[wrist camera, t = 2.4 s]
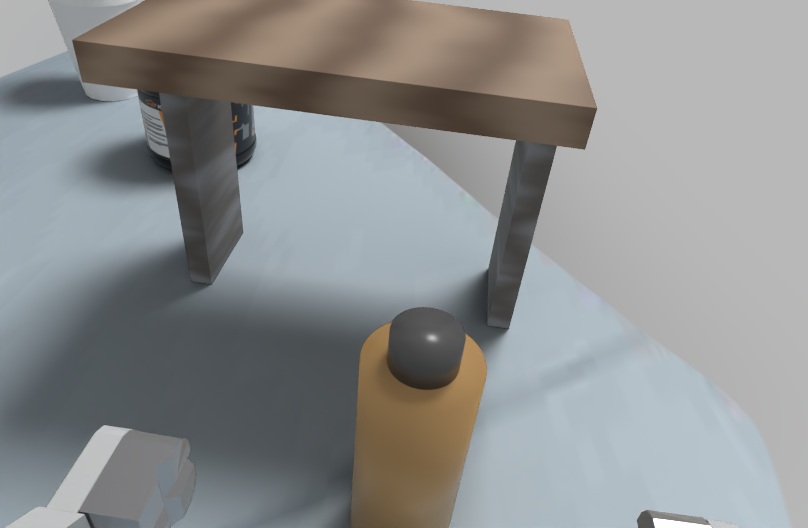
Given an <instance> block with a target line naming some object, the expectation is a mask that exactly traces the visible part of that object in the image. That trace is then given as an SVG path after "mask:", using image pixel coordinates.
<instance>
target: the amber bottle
mask: <svg viewBox="0 0 808 528" xmlns="http://www.w3.org/2000/svg"><path fill="white" fill-rule="evenodd" d="M486 375H487V366H486V360H485V358H484V355H483V353H482V351H481V349H480V348H479V346H478V345H477V344H476V342H475V341H474V340H473V339H472V338H471V337H469V336H468V335H467V334H466V333H465V331H464V328H463V326H462V325H461V324H460V322H459V321H458V320H457V319H455V318H454V317H453V316H451V315H450V314H448V313H446V312H444V311H441V310H438V309H434V308H424V307H422V308H413V309H409V310H406V311H404V312H402V313H400V314H399V315H398V316H396V317H395V319H394V320H393V321H392V322H390V323H387V324H385V325H383V326H381V327H380V328H378V329H377V330H375V331H374V332H373V333H372V334H371V335H370V336H369V337H368V338H367V340H366V341H365V343H364V344H363V347H362V349H361V353H360V362H359V380H358V397H357V414H356V431H355V448H354V465H353V482H352V499H351V516H350V522H351V528H449V524H450V520H451V516H452V512H453V508H454V504H455V500H456V496H457V492H458V488H459V484H460V480H461V476H462V472H463V468H464V464H465V460H466V456H467V452H468V448H469V444H470V440H471V436H472V432H473V428H474V424H475V420H476V416H477V412H478V408H479V404H480V400H481V396H482V392H483V388H484V384H485V380H486Z"/></svg>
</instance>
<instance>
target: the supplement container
mask: <svg viewBox="0 0 808 528" xmlns="http://www.w3.org/2000/svg"><path fill="white" fill-rule="evenodd" d="M137 92H138V97H139V102H140V107H141V113H142V118H143V123H144V128H145V133H146V139H147V141H146V142H147V148H148V151H149V153H150V155H151V157H152V158H153V159H154V160H155V161H156V162H157V163H158V164H160V165H161V166H163V167H165V168H168V169H170V170H172V166H171V161H170V155H169V149H168V143H167V137H166V131H165V125H164V120H163V114H162V108H161V102H160V96H159V92H151V91H144V90H137ZM231 111H232V121H233V132H234V142H235V153H236V163H237V166H239V165H241V164H242V163H244V162H245V161H247V160H248V159H249V158H250V157H251V156H252V154H253V153H254V151H255V148H256V134H255V125H254V111H253V105H249V104H241V103H234V102H231Z"/></svg>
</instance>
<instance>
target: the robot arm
mask: <svg viewBox="0 0 808 528" xmlns="http://www.w3.org/2000/svg"><path fill="white" fill-rule="evenodd" d="M190 451H191V448H190V445H189V441H188V439H186V438H180V437H174V436H168V435H161V434H155V433H149V432H143V431H136V430H133V429H127V428H120V427H114V426H107V425H103V426H102V427H101V428H100V429H99V430H98V431H96V432H95V433H94V434H93V436H92V437H91V439H90V441H89V442H88V444H87V445H86V447H85V448H84V450H83V451H82V453H81V454H80V456H79V457H78V459H77V460H76V462H75V463H74V465H73V466H72V468H71V470H70V471H69V473H68V474H67V476H66V477H65V479H64V480H63V482H62V483H61V485H60V486H59V488H58V489H57V491H56V492H55V494H54V495H53V497H52V498H51V500H50V502H49V503H48V505H47V506H46V507H39V506H37V507H36V508H34V509H33V510H31V511H30V512H28V513H26V514H25V515H23V516H22V517H20V518H19V519H17V520H16V521H14V522H13V523H11V524H10V525H8V526H7V527H5V528H171V526H172V525H173V524H175V523H176V522H177V521H179V520H180V519H181V518H183V517H184V516H185V514H186V512H187V509H188V507H189V505H190V502H191V499H192V495H193V491H194V487H195V480H196V472H195V466H194V464H193V463H192V462H191V461H189V460H188V459H187V457H188V455H189V453H190ZM637 523H638V528H739V527H738V526H737V525H736V524H733V523H730V522H723V521H716V520H709V519H703V518H701V517H693V516H686V515H679V514H672V513H664V512H657V511H650V510H646V511H643V512H642V513H641V514H640V516H639V517H638V519H637Z"/></svg>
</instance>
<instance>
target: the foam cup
mask: <svg viewBox="0 0 808 528" xmlns="http://www.w3.org/2000/svg"><path fill="white" fill-rule="evenodd" d="M48 1H49V4H50V6H51V9H52V11H53V14H54V16H55V18H56V21H57V24H58V26H59V29H60V31H61V34H62V36H63V39H64V41H65V44H66V46H67V49H68V51H69V54H70V57H71V59H72V62H73V64H74V67H75V69H76V72H77V74H78V77H79V79H80V82H81V84H82V87H83V89H84V90H85V93H86V95H87V96H89V97H90V98H92V99H96V100H100V101H120V100H127V99H131V98H133V97H136V96H138V92H137V90H136V89H129V88H121V87H114V86H106V85H99V84H91V83H84V82H82V79H81V75H80V71H79V67H78V63H77V59H76V55H75V51H74V47H73V43H72V40H73V39H74V38H76V37H78V36H80V35H82V34H84V33H86V32H87V31H89V30H91V29H93V28H95V27H97V26H99V25H100V24H102V23H104V22H106V21H108V20H110V19H112V18H113V17H115V16H117V15H119V14H121V13H123V12H124V11H126V10H128V9H130V8H132V7H134V6H136V5H137V4H139V3H140V1H139V0H48Z"/></svg>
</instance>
